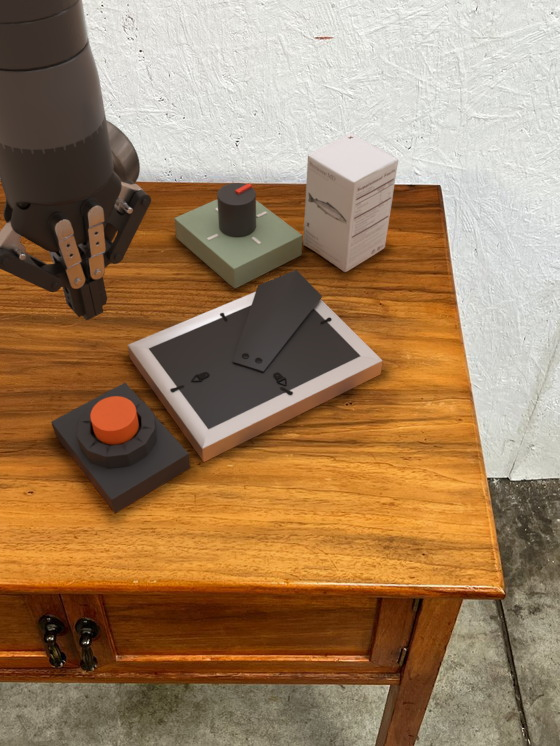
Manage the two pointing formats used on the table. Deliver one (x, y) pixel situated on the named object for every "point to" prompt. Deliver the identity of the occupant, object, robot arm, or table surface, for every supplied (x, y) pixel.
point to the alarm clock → (123, 154)
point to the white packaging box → (348, 200)
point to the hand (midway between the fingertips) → (89, 310)
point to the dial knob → (237, 209)
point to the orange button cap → (114, 420)
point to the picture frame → (253, 364)
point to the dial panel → (238, 243)
